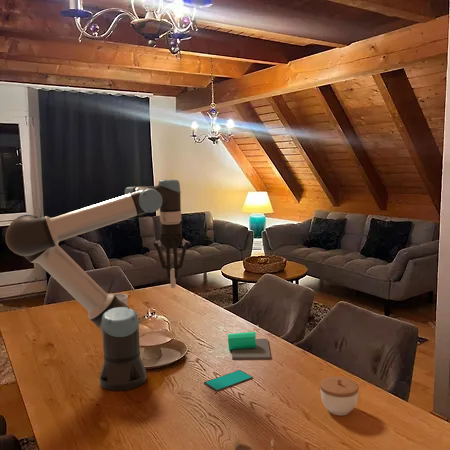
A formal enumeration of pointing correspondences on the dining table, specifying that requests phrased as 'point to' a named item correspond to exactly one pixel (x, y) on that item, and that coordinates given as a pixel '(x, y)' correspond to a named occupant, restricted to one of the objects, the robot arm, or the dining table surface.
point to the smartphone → (228, 380)
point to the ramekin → (122, 297)
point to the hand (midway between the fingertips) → (173, 286)
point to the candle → (242, 340)
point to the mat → (253, 351)
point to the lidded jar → (339, 394)
